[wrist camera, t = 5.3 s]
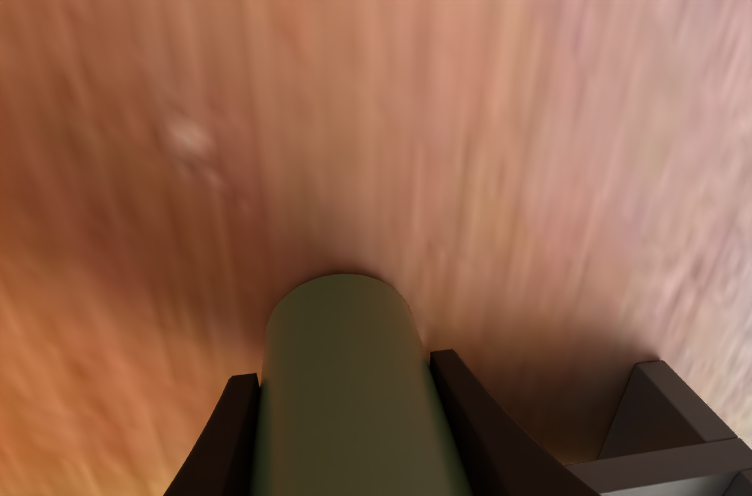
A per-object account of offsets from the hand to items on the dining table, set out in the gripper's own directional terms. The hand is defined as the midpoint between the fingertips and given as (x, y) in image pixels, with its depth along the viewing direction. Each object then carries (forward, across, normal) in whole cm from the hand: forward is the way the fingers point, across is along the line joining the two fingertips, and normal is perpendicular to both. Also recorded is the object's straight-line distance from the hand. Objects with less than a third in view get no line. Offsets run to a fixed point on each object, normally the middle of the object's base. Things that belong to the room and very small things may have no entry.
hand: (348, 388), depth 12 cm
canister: (+2, 0, 0) cm, 2 cm away
